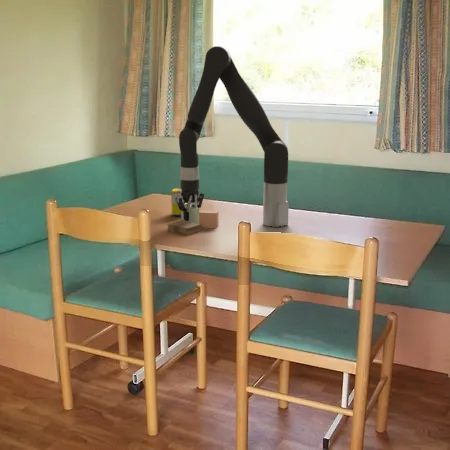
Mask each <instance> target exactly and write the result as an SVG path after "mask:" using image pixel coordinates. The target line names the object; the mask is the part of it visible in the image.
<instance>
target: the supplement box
mask: <svg viewBox="0 0 450 450" xmlns="http://www.w3.org/2000/svg"><path fill="white" fill-rule="evenodd" d="M181 193H182V190H181V187H180V188H179V187H178V188H177V187H176V188H173V189H172V190H171V195H170V196H171V216H172V217H181V210H179V207H178V205H177V202H176V197H178V198H179V197H180V196H181ZM186 204H188V203H186Z"/></svg>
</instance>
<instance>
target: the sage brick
mask: <svg viewBox="0 0 450 450" xmlns="http://www.w3.org/2000/svg"><path fill="white" fill-rule="evenodd" d="M199 212H200V208H196V207H191V205H190V207H189V221H188V222H193V223H199ZM180 219H181V220H183V221H185V220H184V214H183V211H181V216H180Z"/></svg>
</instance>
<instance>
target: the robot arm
mask: <svg viewBox="0 0 450 450" xmlns="http://www.w3.org/2000/svg"><path fill="white" fill-rule="evenodd" d="M219 80H220V81H221V82H222V84H223V86H224V87H225V91H226V92H227V95H228V98H229V100H230V101H231V104H232V105H233V107H234V109H235V112H236V113H237V115H238V116H239V118H240V119H241V120H242V122H243V123H244V124H245V126H246V127H247V128H248V129H249V130H250V131H251V133H253V134H254V136H255V137H256V139H257V141H258V143H259V145H260V146H261V148H262V151H263V154H264V155H263V156H264V157H263V199H262V201H263V204H262V205H263V207H262V209H263V210H262V211H263V212H262V224H263V225H264V226H266V227H270V226H272V227H274V228H280V227H279V226H281V227H285V226H288V225H289V210H290V209H289V206H290V205H289V203H290V202H289V201H288V199H287V198H288V179H289V177H288V176H289V149H288V146H287V145H286V143H285V142H284V141H283V140H282V139H281V137H280V136H279V134H278V133H277V132H276V131H275V129H274V128H273V126H272V124H271V122H270V120H269V118H268V116H267V114H266V112H265V110H264V108H263V106H262V104H261V103H260V101H259V99H258V98H257V96H256V94H255V93H254V92H253V90H252V89H251V88H250V86H249V85H248V83H247V82H246V81H245V79H244V78H243V77H242V75H241V74H240V72H239V71H238V69H237V67H236V65H235V62H234V60H233V59H232V56H231V54H230V52H229V50H228V49H227V48H225V47H223V46H221V45H220V46H219V45H218V46H217V45H216V46H215V45H214V46H212V47H210V48H209V49H208V50H207V52H206V53H205V59H204V65H203V69H202V75H201V78H200V81H199V84H198V87H197V89H196V92H195V93H194V96H193V99H192V101H191V105H190V107H189V109H188V112H187V120H186V122H185V124H184V127H183V129H182V130H181V131H180V132H179V134H178V136H179V137H178V143H179V144H178V145H179V152H180V176H179V178H180V179H179V180H180V183H179V184H180V185H179V186H180V189H181V190H182V193H181V196H180V197H179V198H178V197H176V202H177V205H178V207H179V210H181V211H183V214H184V220H185V221H189V207H190V206H191V207H196V208H199V209H201V207H202V204H203V201H204V198H205V197H204V196H205V193H203V192H200V191H199V190H200V168H199V154H198V151H197V146H198V145H197V143H198V141H199V138H200V136H201V133H202V131H203V126H204V122H205V120H206V118H207V115H208V112H209V110H210V107H211V105H212V104H211V103H212V101H213V97H214V94H215V89H216V87H217V85H218V82H219ZM186 203H188V204H186ZM287 224H288V225H287ZM284 225H285V226H284Z"/></svg>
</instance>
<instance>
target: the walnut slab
mask: <svg viewBox="0 0 450 450" xmlns="http://www.w3.org/2000/svg"><path fill="white" fill-rule="evenodd" d="M201 231H202V227H201V224H199V223H193V222H188V221H183V220H177V221H174V222H171V223H168V224H167V232H173V233H177V234H181V235H187V236H189V235H192V234H196V233H198V232H201Z"/></svg>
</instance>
